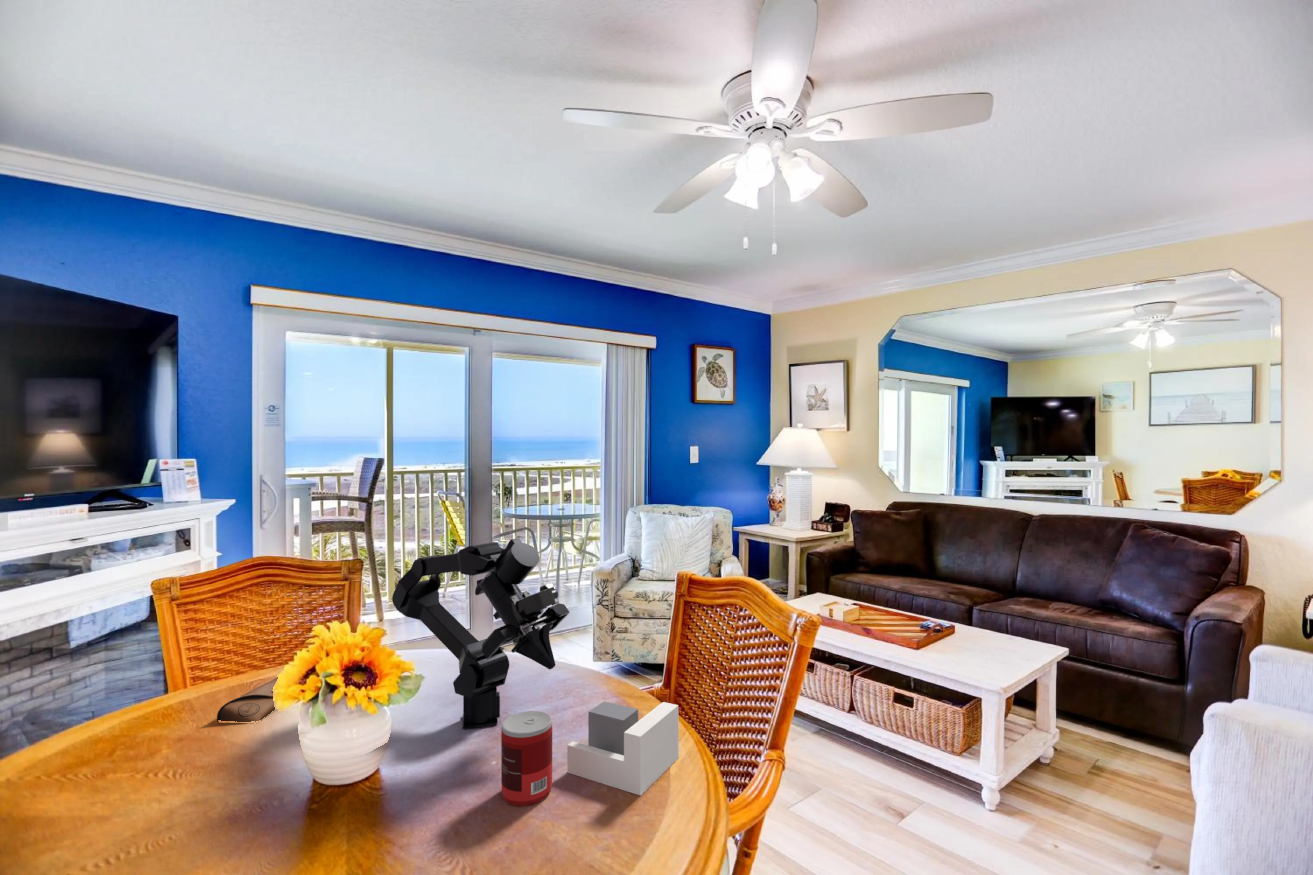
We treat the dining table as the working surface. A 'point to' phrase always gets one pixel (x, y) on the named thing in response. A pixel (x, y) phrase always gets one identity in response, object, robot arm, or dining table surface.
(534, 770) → the canned food
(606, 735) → the plug
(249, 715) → the sunglasses case
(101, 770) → the dining table surface
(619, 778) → the socket
